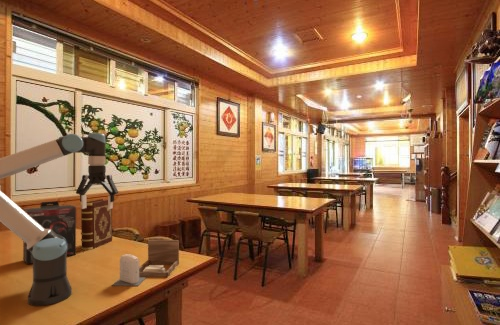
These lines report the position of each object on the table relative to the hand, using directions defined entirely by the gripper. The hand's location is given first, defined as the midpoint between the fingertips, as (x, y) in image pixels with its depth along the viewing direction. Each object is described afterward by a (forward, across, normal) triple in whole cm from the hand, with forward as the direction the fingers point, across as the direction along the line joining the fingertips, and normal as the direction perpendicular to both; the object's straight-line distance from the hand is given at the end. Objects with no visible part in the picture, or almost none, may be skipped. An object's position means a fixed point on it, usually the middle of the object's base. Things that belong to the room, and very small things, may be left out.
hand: (97, 208), depth 144 cm
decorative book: (+34, +34, -53) cm, 72 cm away
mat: (+34, -18, +4) cm, 38 cm away
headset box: (+34, +46, -27) cm, 63 cm away
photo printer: (+33, -18, +4) cm, 38 cm away
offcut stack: (+34, -26, -6) cm, 43 cm away
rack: (+34, -25, -13) cm, 44 cm away
